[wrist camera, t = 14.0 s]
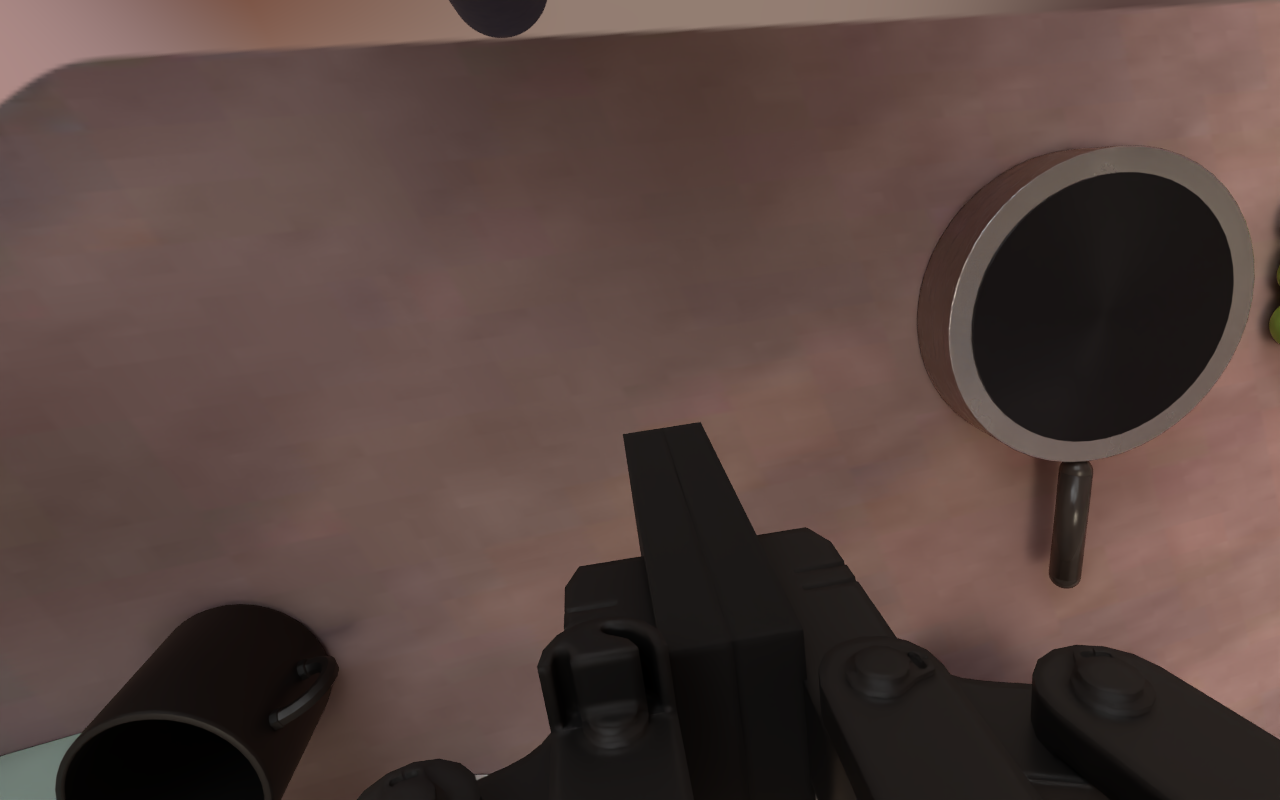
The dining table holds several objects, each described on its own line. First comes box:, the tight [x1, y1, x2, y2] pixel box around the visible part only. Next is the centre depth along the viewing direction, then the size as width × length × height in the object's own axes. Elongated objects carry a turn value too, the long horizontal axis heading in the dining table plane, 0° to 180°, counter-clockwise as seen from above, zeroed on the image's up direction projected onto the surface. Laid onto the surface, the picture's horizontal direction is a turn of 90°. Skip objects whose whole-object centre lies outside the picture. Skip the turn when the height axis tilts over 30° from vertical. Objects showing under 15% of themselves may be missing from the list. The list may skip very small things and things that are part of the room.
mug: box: [55, 604, 339, 800], centre depth 37 cm, size 9×12×9 cm
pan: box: [917, 146, 1254, 589], centre depth 39 cm, size 24×16×4 cm, turn 4°
